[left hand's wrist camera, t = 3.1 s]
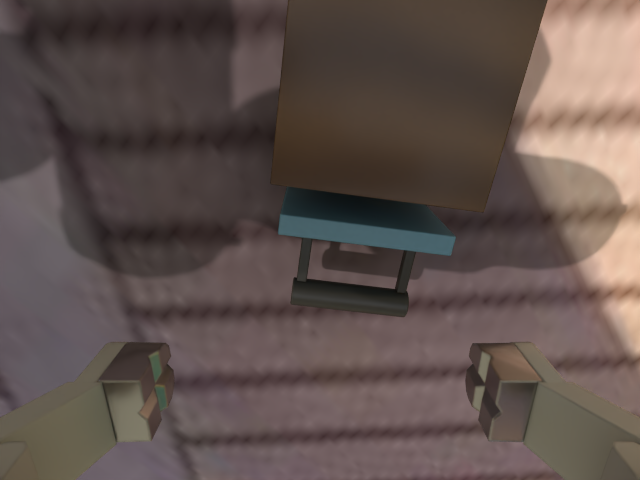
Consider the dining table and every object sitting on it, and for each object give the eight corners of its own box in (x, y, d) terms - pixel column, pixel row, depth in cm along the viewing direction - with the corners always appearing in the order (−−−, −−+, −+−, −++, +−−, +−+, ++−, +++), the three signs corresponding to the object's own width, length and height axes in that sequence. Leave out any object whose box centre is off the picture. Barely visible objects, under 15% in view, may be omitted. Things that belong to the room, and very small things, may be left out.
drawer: (404, 284, 31) (428, 336, 24) (277, 269, 30) (268, 318, 24) (508, -143, 21) (590, -238, 15) (328, -179, 21) (335, -294, 14)
